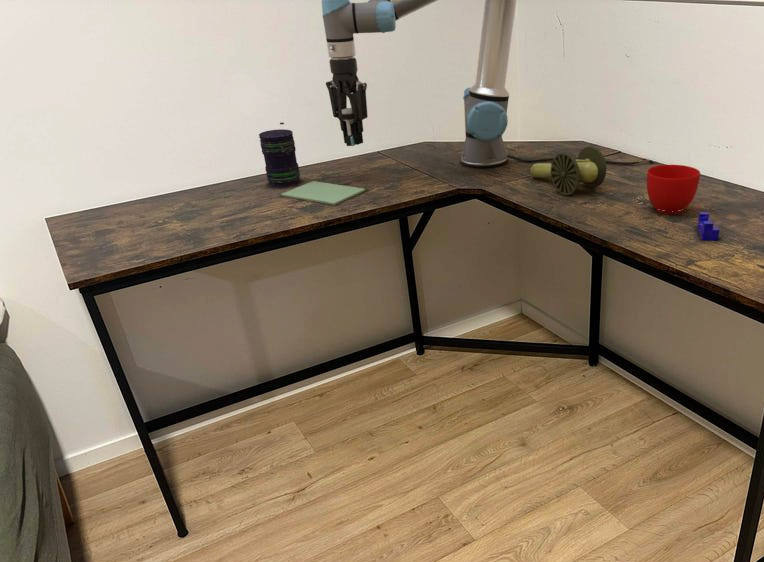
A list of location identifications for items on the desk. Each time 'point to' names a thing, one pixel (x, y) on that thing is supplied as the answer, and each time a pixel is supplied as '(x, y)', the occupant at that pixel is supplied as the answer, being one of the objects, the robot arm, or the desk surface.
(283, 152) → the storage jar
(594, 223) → the desk surface
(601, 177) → the cannon
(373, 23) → the robot arm
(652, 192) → the ceramic cup
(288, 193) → the desk mat
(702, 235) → the blue stepped block
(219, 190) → the desk surface
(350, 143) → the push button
